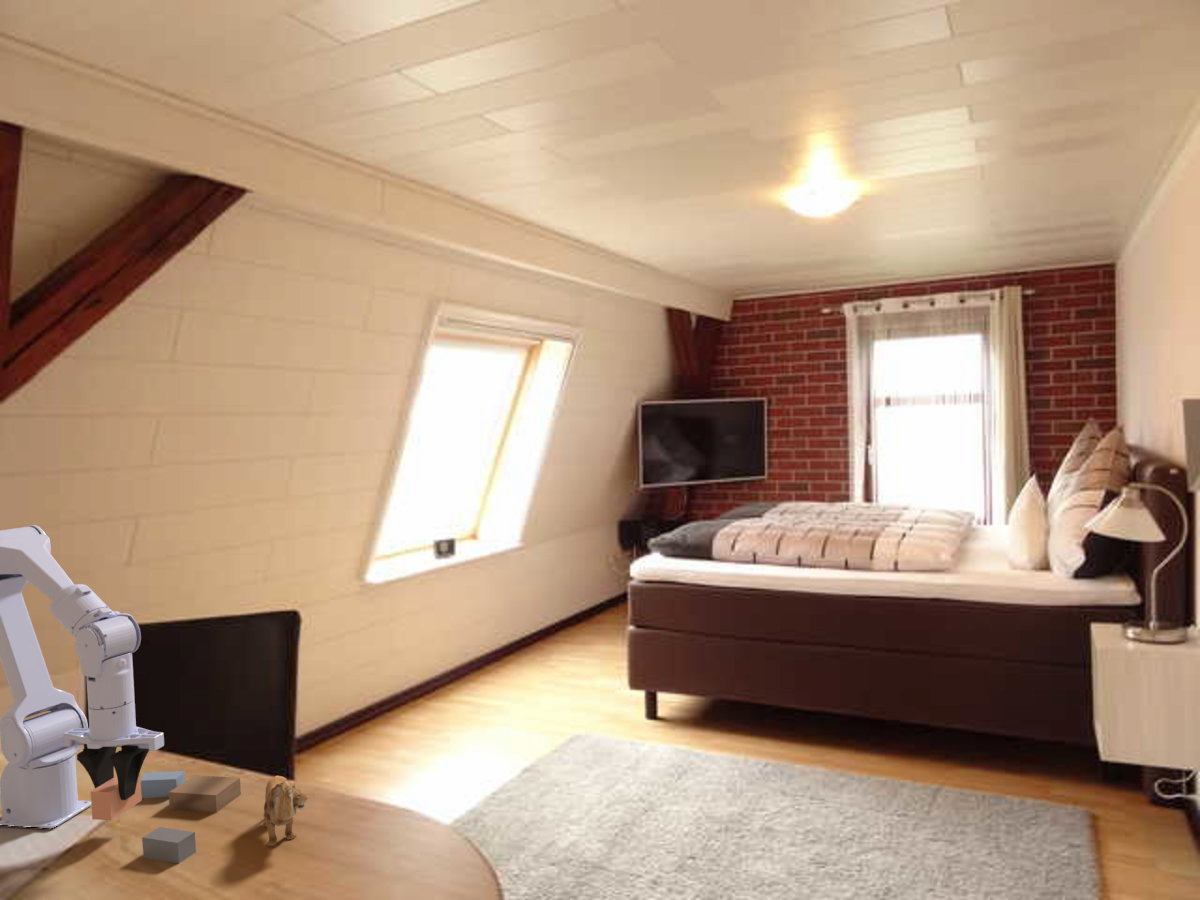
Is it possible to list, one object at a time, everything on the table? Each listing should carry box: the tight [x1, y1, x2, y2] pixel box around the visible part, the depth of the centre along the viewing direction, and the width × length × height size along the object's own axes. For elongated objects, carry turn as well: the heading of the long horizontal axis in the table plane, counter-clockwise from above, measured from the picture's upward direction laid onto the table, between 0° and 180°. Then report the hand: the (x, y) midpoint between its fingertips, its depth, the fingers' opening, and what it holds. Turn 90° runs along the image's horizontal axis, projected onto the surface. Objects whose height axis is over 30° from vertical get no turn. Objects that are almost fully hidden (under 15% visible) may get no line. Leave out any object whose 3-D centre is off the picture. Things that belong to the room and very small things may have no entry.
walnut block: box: [168, 774, 242, 814], centre depth 131 cm, size 8×6×3 cm
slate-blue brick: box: [140, 770, 186, 799], centre depth 134 cm, size 6×3×3 cm, turn 92°
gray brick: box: [141, 826, 197, 864], centre depth 115 cm, size 6×3×3 cm, turn 73°
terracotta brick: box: [90, 773, 143, 821], centre depth 121 cm, size 3×6×4 cm, turn 170°
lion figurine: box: [262, 775, 309, 847], centre depth 121 cm, size 15×5×9 cm, turn 34°
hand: (116, 796), depth 121 cm, fingers closed on terracotta brick, 3 cm apart
